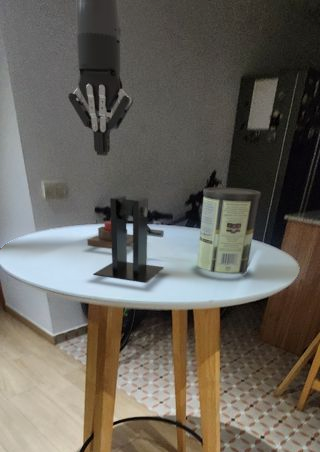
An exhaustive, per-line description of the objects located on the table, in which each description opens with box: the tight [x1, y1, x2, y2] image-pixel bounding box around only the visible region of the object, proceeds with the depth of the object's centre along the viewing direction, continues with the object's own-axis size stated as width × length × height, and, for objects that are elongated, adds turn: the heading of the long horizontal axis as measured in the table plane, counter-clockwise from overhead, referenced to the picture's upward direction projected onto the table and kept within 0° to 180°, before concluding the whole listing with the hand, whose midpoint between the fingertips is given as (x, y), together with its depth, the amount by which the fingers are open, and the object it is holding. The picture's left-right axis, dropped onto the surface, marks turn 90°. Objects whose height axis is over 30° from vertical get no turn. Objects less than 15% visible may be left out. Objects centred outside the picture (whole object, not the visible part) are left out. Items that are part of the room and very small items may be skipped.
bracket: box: [92, 195, 164, 284], centre depth 64 cm, size 10×10×13 cm
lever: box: [120, 198, 165, 238], centre depth 66 cm, size 13×6×2 cm, turn 161°
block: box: [86, 225, 133, 250], centre depth 84 cm, size 8×10×4 cm
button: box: [104, 220, 111, 231], centre depth 83 cm, size 4×4×2 cm
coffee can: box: [196, 186, 262, 277], centre depth 70 cm, size 10×10×14 cm
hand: (102, 155), depth 74 cm, fingers closed
